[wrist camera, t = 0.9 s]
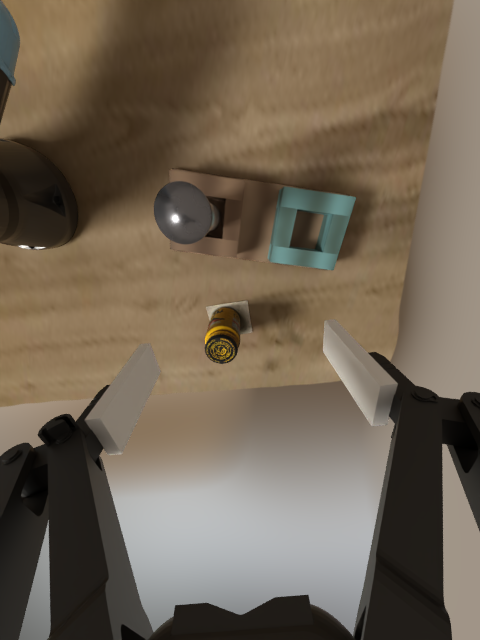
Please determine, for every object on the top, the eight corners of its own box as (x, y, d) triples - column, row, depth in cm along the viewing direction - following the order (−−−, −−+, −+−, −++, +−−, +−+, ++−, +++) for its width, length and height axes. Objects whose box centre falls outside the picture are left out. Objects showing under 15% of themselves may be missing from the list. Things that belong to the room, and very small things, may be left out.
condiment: (206, 306, 43) (194, 335, 32) (247, 300, 42) (250, 327, 32) (213, 337, 46) (205, 373, 35) (252, 331, 46) (256, 366, 35)
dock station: (174, 249, 38) (165, 253, 34) (174, 169, 33) (163, 161, 28) (324, 268, 40) (336, 275, 35) (346, 195, 35) (363, 191, 30)
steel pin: (193, 231, 36) (155, 240, 20) (194, 197, 34) (152, 176, 17) (223, 235, 36) (209, 247, 20) (225, 202, 34) (213, 185, 18)
